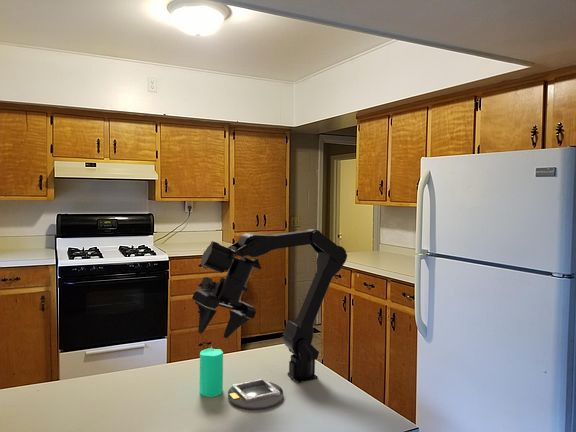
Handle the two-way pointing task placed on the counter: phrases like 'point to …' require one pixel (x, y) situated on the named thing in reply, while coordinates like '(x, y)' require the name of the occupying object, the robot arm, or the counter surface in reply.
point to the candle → (211, 372)
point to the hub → (255, 395)
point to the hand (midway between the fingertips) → (212, 335)
